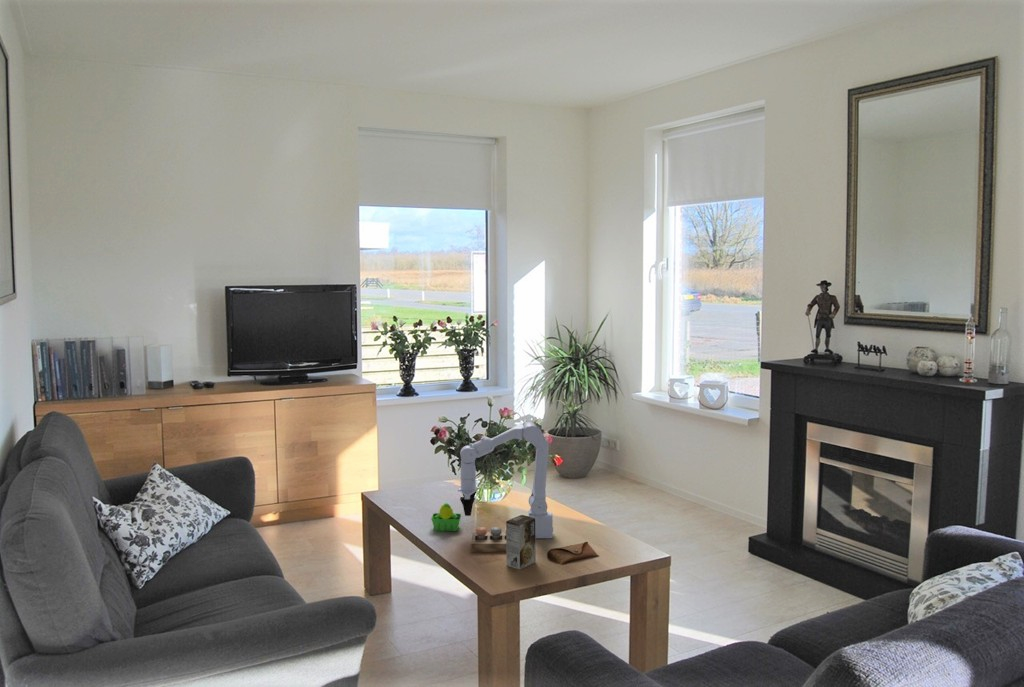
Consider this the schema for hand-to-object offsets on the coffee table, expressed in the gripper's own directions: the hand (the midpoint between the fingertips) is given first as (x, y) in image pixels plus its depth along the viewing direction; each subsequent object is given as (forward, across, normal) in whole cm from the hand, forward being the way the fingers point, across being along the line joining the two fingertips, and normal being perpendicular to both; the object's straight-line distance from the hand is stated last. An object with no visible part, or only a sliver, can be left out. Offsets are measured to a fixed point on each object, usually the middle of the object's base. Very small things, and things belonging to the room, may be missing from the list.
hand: (468, 512), depth 310 cm
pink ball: (+7, +9, +5) cm, 13 cm away
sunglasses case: (+11, +21, +39) cm, 45 cm away
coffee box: (+10, +28, +20) cm, 36 cm away
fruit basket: (+10, -10, -10) cm, 17 cm away
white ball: (+7, +9, +16) cm, 20 cm away
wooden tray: (+10, +9, +11) cm, 17 cm away
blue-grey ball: (+7, +9, +11) cm, 16 cm away
